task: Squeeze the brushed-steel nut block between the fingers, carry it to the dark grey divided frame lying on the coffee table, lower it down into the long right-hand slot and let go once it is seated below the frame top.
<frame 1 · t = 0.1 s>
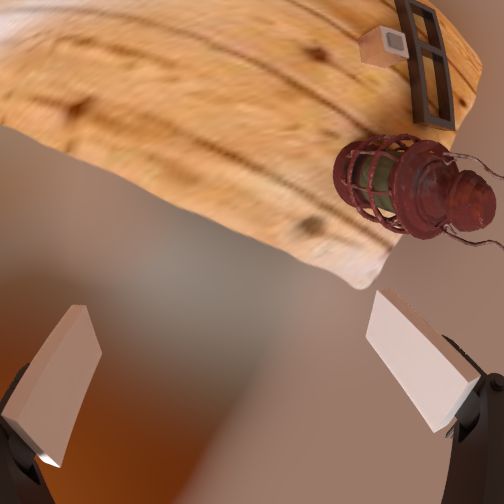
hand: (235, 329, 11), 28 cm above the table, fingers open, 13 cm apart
dark grey divided frame: (422, 60, 32), on the table
lantern: (361, 174, 39), on the table
nut: (371, 53, 32), on the table
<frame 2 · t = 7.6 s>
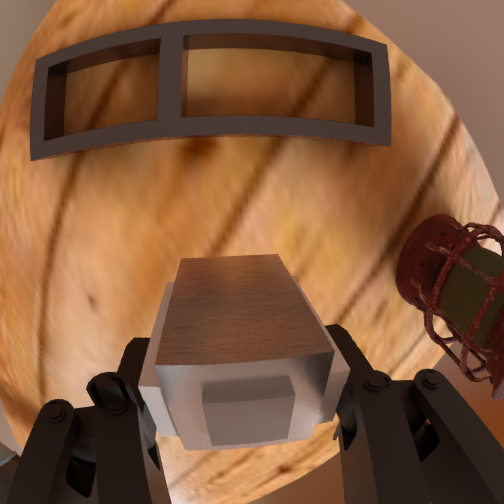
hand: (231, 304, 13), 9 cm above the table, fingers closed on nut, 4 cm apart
dark grey divided frame: (204, 83, 17), on the table
lantern: (431, 260, 25), on the table
nut: (231, 298, 13), point 9 cm above the table, touching gripper
when the fingers open (0 cm above the table, at t = 10.9 s): nut stays where it is, resting in dark grey divided frame.
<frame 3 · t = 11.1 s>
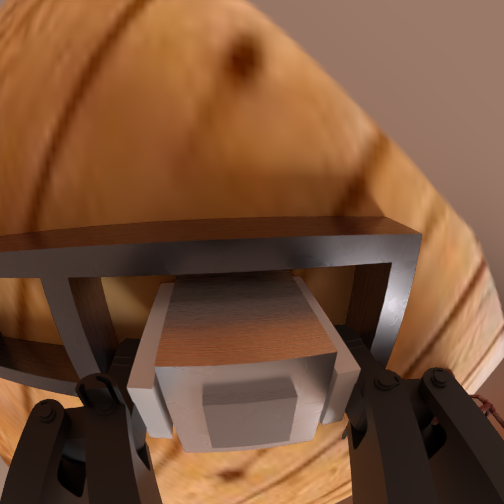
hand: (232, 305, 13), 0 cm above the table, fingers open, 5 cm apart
dark grey divided frame: (128, 305, 13), on the table
lantern: (413, 405, 21), on the table
nut: (231, 299, 13), resting in dark grey divided frame
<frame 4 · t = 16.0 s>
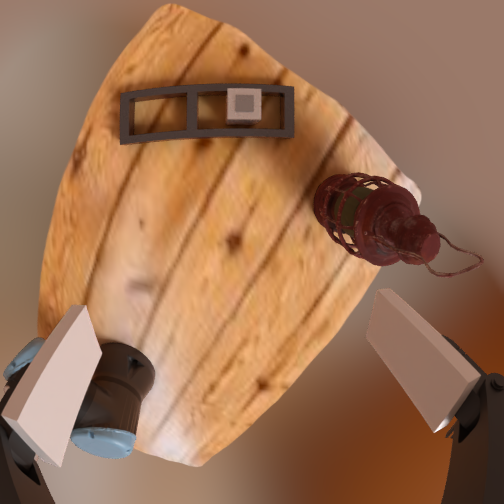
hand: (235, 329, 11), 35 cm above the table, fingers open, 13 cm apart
dark grey divided frame: (206, 112, 38), on the table
lantern: (339, 203, 47), on the table
nut: (239, 111, 39), resting in dark grey divided frame
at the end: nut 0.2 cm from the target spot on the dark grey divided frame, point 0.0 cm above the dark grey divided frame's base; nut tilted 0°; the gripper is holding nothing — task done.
